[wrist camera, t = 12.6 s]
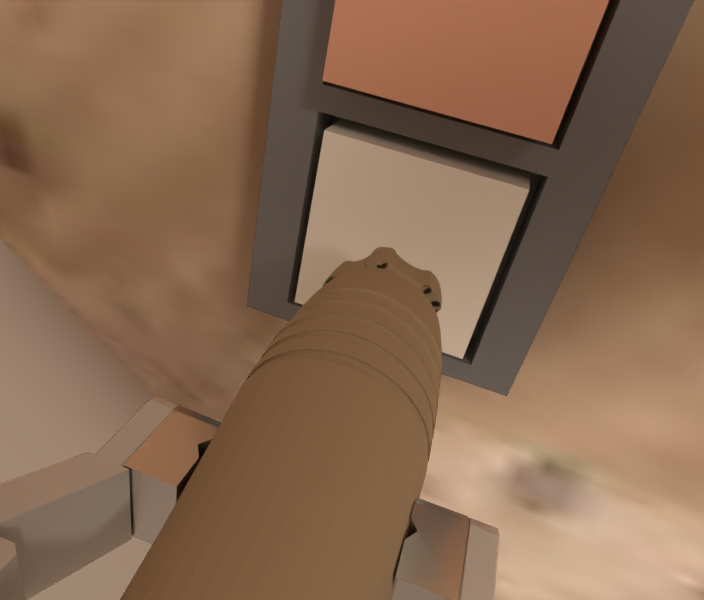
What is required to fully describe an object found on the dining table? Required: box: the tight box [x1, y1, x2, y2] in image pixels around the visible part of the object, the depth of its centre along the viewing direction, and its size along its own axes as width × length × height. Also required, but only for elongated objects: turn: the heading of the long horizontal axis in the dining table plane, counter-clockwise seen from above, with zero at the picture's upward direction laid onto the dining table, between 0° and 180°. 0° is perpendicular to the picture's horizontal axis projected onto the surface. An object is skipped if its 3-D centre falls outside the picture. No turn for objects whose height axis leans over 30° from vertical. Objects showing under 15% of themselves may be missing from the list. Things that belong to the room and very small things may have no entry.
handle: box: [120, 247, 442, 600], centre depth 9 cm, size 5×6×15 cm
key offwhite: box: [295, 118, 530, 359], centre depth 19 cm, size 6×6×2 cm
